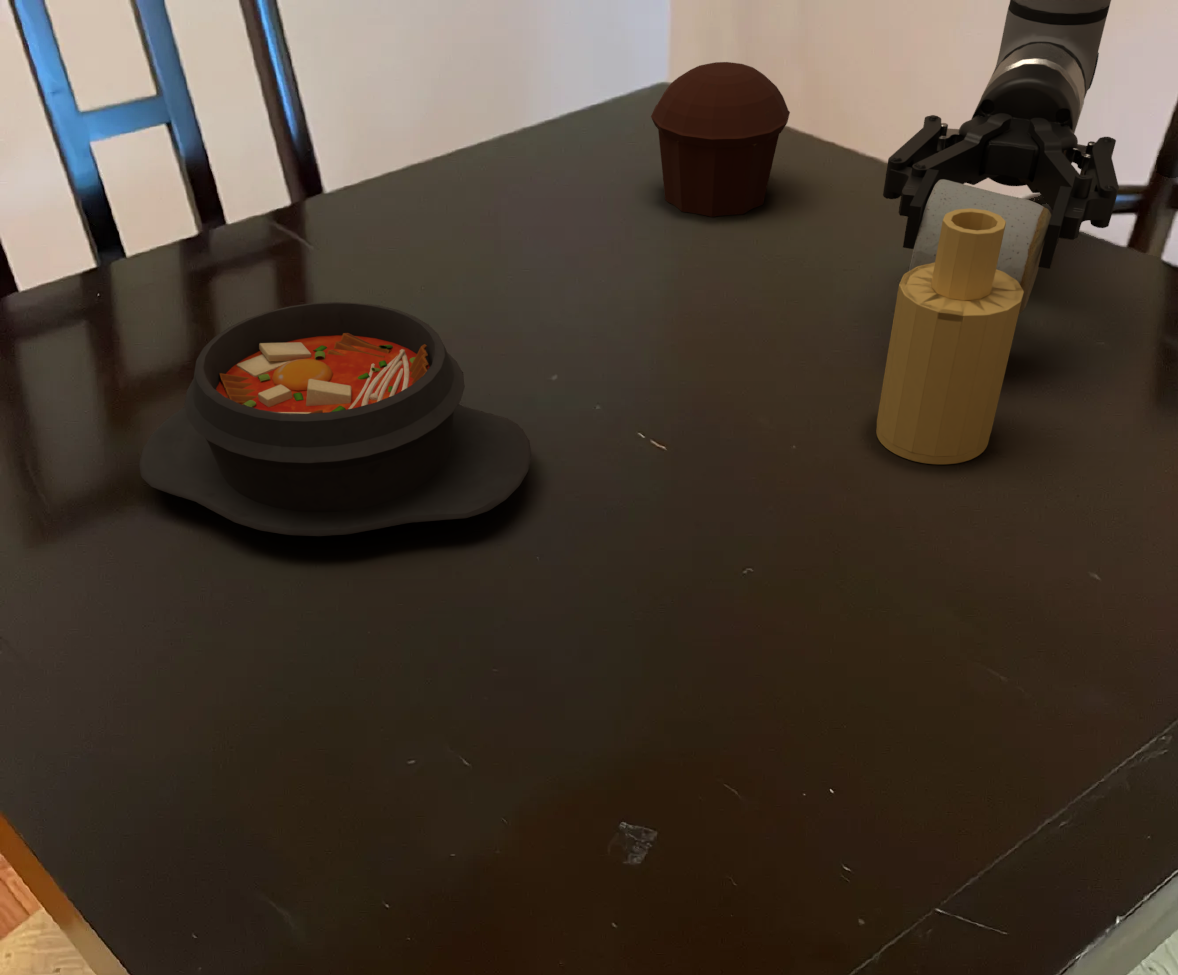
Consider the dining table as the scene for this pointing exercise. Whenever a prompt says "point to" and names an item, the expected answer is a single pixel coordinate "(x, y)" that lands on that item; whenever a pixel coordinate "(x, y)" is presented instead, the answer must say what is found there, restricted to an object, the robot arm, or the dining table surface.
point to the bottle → (950, 345)
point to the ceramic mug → (1019, 235)
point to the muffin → (719, 138)
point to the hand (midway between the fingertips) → (979, 237)
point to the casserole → (333, 426)
